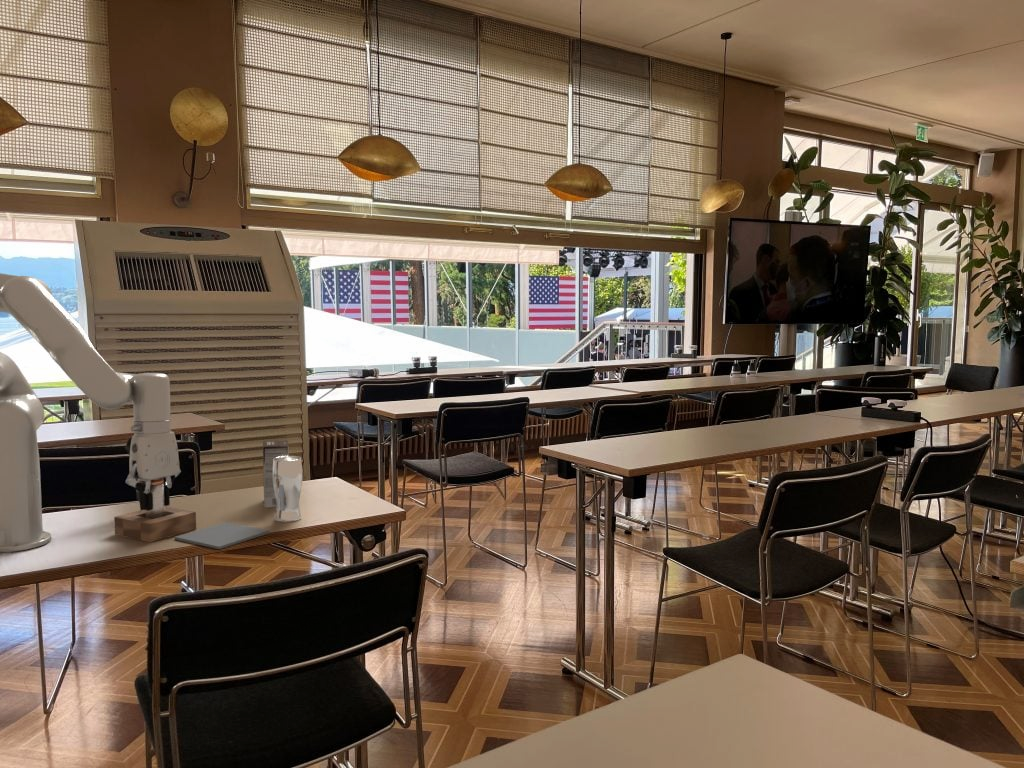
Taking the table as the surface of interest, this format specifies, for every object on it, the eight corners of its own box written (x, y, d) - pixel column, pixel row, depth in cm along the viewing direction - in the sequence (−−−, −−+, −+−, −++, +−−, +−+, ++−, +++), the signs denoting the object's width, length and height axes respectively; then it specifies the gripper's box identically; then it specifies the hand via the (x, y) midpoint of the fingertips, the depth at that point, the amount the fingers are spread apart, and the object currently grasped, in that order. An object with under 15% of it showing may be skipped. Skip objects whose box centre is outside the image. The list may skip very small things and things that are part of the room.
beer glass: (271, 517, 185) (269, 456, 184) (299, 513, 189) (298, 454, 187) (276, 524, 179) (275, 462, 178) (305, 520, 183) (304, 459, 181)
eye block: (149, 542, 164) (149, 524, 164) (114, 534, 170) (114, 516, 169) (196, 528, 175) (195, 511, 174) (161, 521, 180) (161, 505, 180)
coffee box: (264, 499, 203) (262, 440, 201) (289, 498, 205) (288, 439, 203) (263, 508, 194) (262, 446, 193) (289, 506, 196) (288, 445, 195)
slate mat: (219, 549, 160) (219, 546, 160) (175, 539, 166) (174, 536, 166) (269, 533, 172) (269, 530, 172) (226, 524, 179) (226, 521, 178)
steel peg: (154, 534, 170) (153, 482, 168) (142, 532, 171) (140, 480, 170) (169, 530, 173) (167, 479, 172) (156, 528, 175) (155, 477, 174)
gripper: (131, 434, 161) (134, 518, 163) (194, 424, 176) (196, 501, 178) (107, 431, 164) (110, 513, 166) (171, 422, 179) (173, 497, 181)
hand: (155, 506), depth 172 cm, fingers closed on steel peg, 4 cm apart
